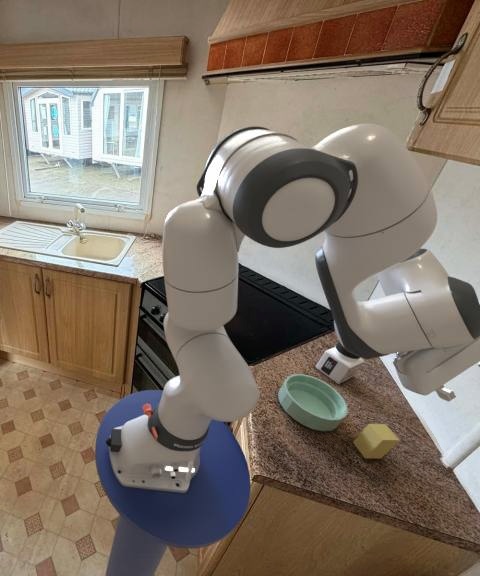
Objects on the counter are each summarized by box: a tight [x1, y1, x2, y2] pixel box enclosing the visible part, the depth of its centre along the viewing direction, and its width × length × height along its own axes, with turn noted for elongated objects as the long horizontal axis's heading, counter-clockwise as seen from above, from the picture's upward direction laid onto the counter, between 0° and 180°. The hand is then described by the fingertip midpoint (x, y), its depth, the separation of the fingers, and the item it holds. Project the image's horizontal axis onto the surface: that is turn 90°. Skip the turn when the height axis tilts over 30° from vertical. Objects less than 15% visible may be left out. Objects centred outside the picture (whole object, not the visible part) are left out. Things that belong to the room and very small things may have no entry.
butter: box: [352, 423, 401, 460], centre depth 76 cm, size 4×4×8 cm
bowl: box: [277, 373, 349, 432], centre depth 86 cm, size 15×15×6 cm
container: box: [315, 340, 365, 385], centre depth 97 cm, size 8×8×13 cm
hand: (469, 384), depth 59 cm, fingers open, 8 cm apart
